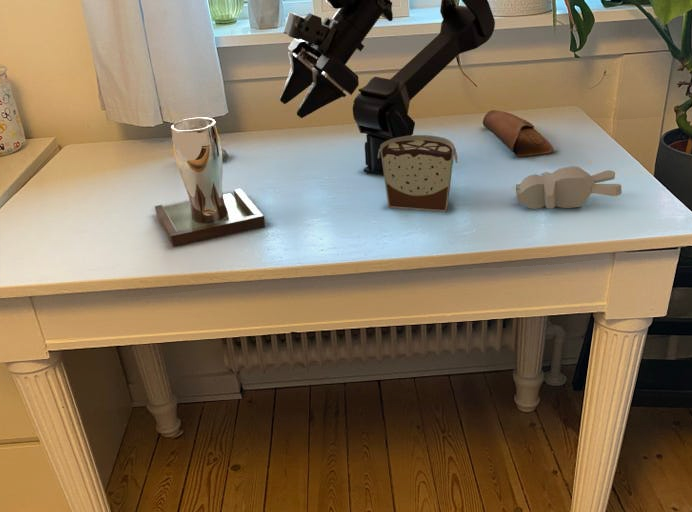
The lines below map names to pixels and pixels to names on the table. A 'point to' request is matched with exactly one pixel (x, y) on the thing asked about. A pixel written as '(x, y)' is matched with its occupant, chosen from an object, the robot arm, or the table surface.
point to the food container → (418, 171)
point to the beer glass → (200, 168)
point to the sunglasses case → (517, 134)
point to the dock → (186, 232)
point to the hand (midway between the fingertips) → (290, 109)
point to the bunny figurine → (564, 188)
